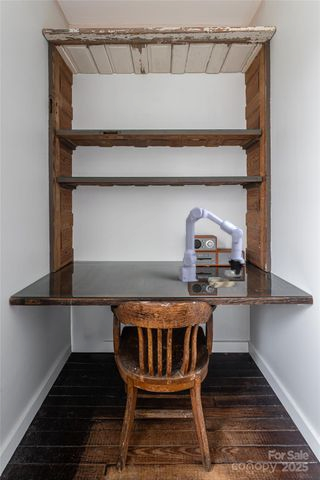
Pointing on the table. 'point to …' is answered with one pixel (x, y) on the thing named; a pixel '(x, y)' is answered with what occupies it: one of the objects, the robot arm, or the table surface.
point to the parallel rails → (221, 283)
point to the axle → (231, 273)
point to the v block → (215, 278)
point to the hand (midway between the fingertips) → (235, 273)
